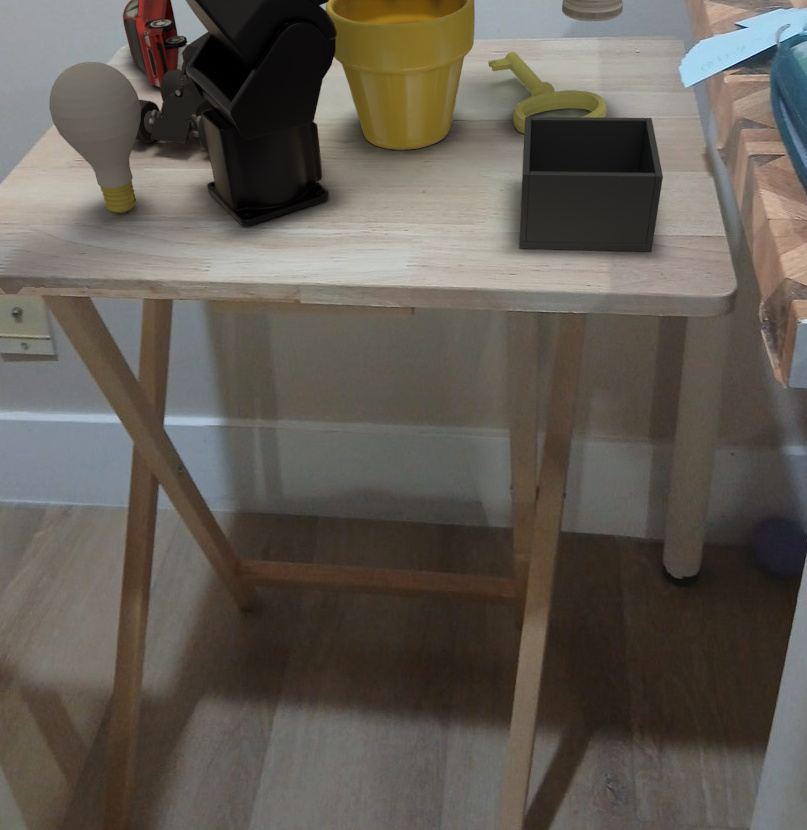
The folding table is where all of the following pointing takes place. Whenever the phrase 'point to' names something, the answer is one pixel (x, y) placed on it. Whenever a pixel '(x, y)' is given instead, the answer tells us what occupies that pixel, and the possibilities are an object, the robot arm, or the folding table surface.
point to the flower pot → (403, 65)
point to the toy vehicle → (175, 107)
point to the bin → (589, 184)
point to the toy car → (152, 37)
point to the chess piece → (592, 9)
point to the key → (545, 93)
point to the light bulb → (99, 125)
